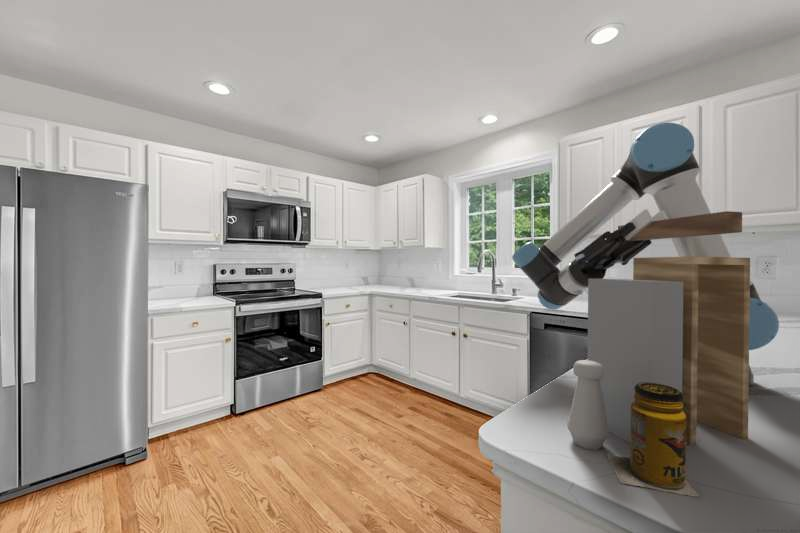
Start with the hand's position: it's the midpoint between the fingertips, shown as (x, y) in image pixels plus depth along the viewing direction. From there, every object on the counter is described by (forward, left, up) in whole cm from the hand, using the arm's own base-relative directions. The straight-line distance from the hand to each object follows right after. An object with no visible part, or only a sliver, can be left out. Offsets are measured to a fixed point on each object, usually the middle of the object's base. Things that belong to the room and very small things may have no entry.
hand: (657, 215), depth 69 cm
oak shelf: (0, +6, -38) cm, 39 cm away
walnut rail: (0, +3, -4) cm, 5 cm away
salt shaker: (+22, +8, -39) cm, 45 cm away
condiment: (+20, +17, -39) cm, 47 cm away
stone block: (+12, +6, -38) cm, 41 cm away
